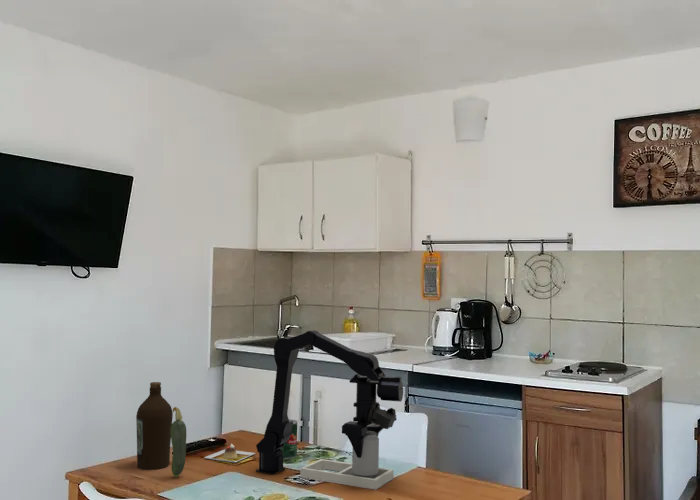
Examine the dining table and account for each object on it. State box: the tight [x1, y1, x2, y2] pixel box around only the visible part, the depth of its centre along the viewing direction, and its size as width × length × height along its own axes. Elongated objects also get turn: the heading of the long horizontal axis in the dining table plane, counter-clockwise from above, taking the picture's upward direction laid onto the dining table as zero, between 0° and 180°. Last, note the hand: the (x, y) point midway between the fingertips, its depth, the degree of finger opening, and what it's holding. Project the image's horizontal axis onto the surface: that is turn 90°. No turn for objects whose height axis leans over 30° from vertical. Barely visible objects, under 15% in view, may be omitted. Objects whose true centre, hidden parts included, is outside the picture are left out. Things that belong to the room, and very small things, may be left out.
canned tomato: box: [280, 418, 298, 460], centre depth 216 cm, size 8×8×11 cm
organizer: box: [299, 458, 394, 490], centre depth 192 cm, size 24×12×2 cm, turn 63°
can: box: [351, 431, 380, 478], centre depth 190 cm, size 8×8×12 cm
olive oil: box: [135, 381, 174, 471], centre depth 203 cm, size 11×11×25 cm
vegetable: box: [171, 406, 187, 478], centre depth 190 cm, size 4×4×20 cm
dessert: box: [203, 443, 256, 464], centre depth 214 cm, size 12×12×5 cm
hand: (365, 454), depth 190 cm, fingers closed on can, 7 cm apart
